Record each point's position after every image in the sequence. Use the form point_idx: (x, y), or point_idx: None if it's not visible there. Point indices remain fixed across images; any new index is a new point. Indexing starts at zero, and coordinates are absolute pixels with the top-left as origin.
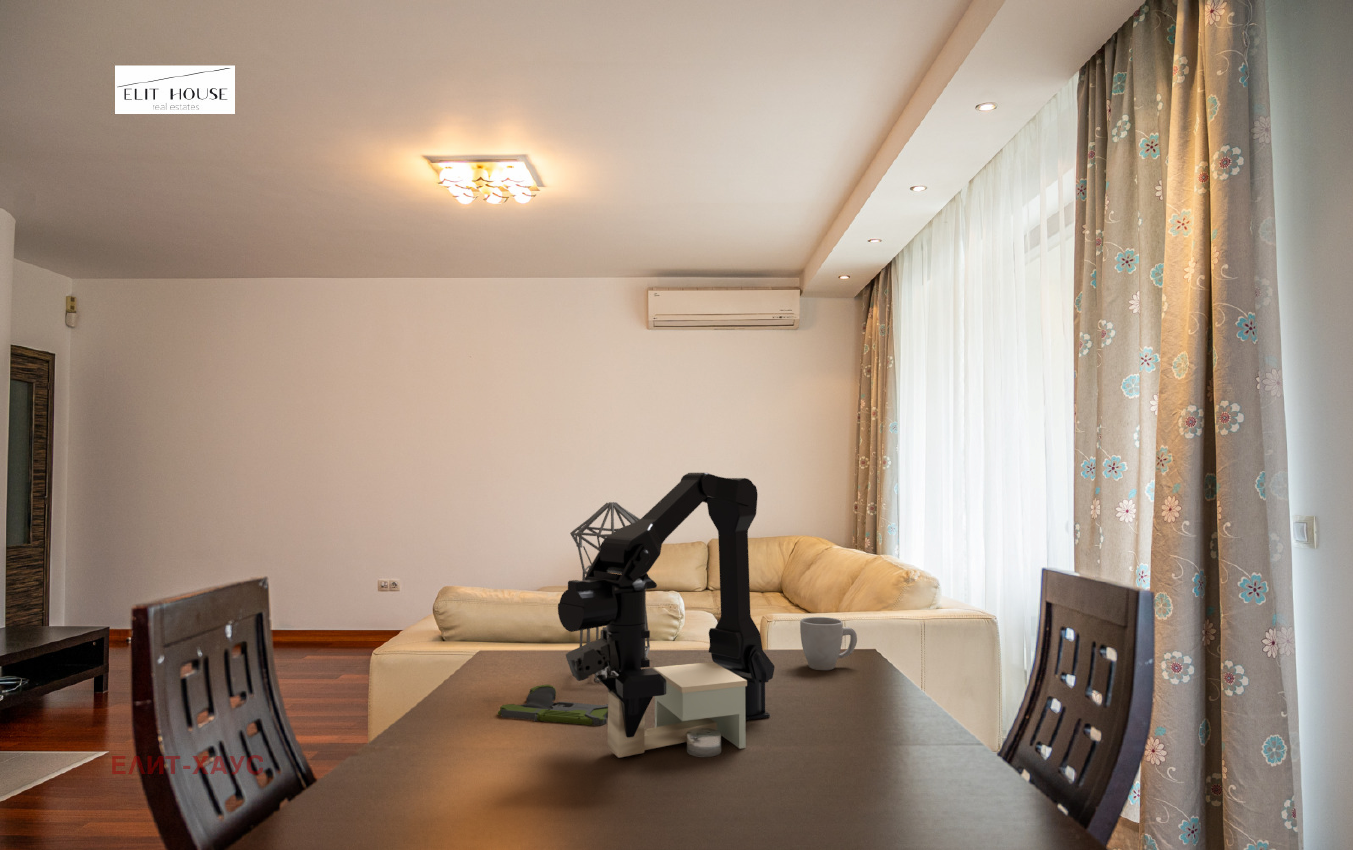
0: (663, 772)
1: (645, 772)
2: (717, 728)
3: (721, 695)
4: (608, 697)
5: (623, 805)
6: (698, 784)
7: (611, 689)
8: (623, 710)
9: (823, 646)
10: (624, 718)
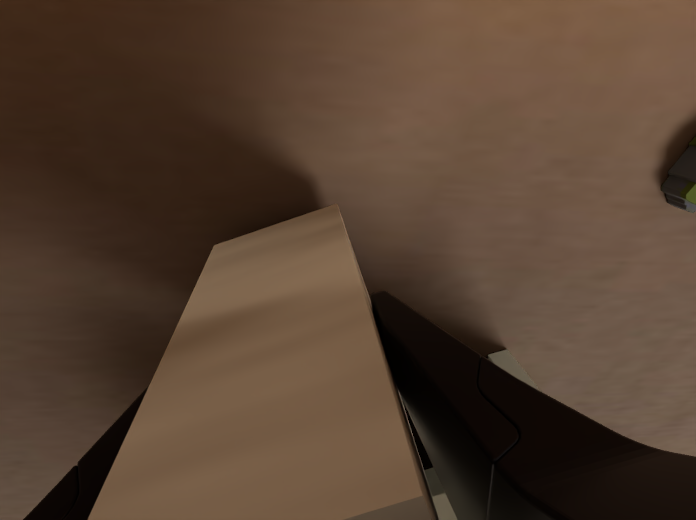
0: (115, 375)
1: (105, 326)
2: (437, 477)
3: None
4: (390, 429)
5: None
6: (20, 453)
7: (517, 507)
8: (54, 513)
9: None
10: (107, 438)
